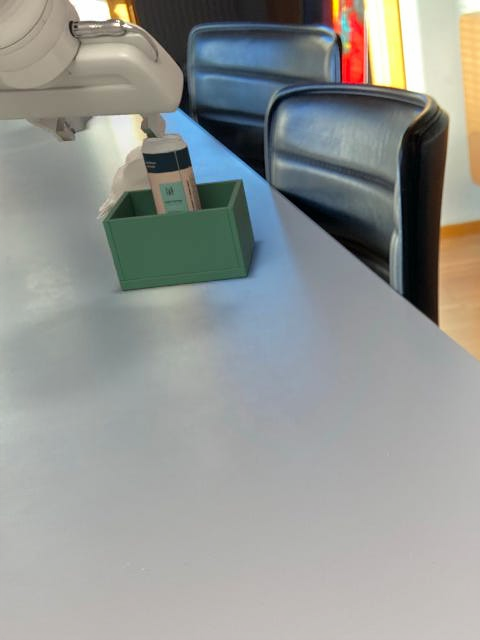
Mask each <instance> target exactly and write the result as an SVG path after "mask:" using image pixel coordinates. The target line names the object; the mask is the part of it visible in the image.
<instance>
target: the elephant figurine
mask: <svg viewBox="0 0 480 640" xmlns="http://www.w3.org/2000/svg"><path fill="white" fill-rule="evenodd" d="M141 149H142V145H139V146H136V147H135V148H133V149H131V150H130V151H129V152H128V153H127V155H126V157H125V162H124V165H121V166H120V167H119V168H118V169H117V170H116V171H115V174H114V177H113V180H112V185H111V191H110V195H108V197H107V199H106V200H105V201H104V203H103V204H102V205H101V206H100V207H99V209H98V213H99V212H100V213H99V214H98V216H97V218H96V220H99V219H101V218H103V217H105V216H106V214H108V213H109V212H110V211H111V209H112V208H113V207H114V205H115V204H116V202H117V201H118V200H119V198H120V197H121V196H122V194H123V193H124V192H125V191H134V190H144V189H151V186H150V182H149V178H148V174H147V170H146V166H145V162H144V158H143V154H142V152H141Z"/></svg>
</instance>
